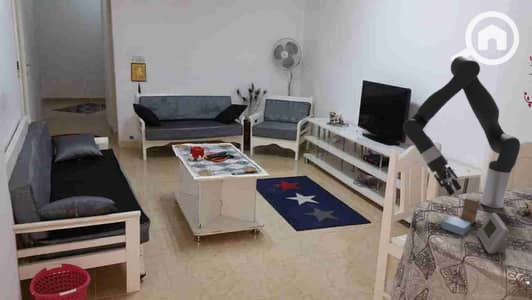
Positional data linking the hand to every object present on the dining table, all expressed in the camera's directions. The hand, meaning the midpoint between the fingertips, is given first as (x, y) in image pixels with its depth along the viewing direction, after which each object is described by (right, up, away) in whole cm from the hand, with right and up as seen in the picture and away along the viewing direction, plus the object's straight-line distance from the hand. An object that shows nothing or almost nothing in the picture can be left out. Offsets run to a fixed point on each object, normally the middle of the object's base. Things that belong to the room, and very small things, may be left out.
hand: (456, 191), depth 181 cm
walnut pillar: (+4, -12, -1) cm, 13 cm away
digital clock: (+3, -18, -21) cm, 28 cm away
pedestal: (-4, -14, -9) cm, 17 cm away
